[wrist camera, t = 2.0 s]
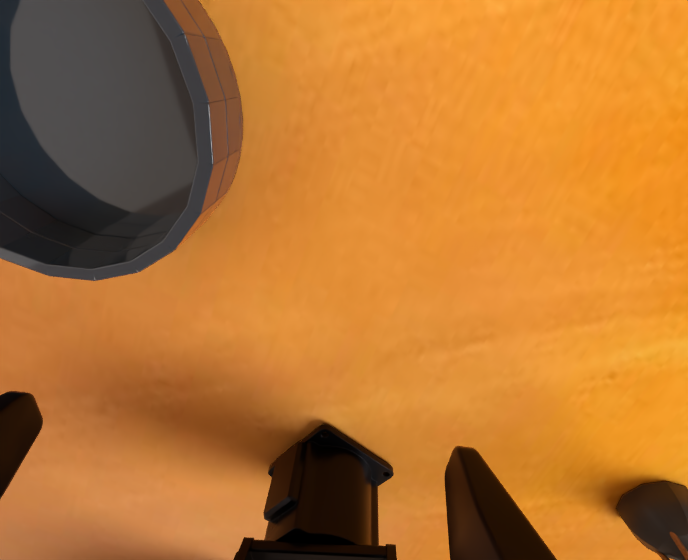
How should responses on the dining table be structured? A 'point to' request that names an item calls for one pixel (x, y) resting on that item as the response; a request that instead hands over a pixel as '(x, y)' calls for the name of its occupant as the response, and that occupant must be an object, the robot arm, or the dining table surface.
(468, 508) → the robot arm
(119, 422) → the dining table surface
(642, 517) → the wooden tabletop sculpture
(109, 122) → the saucepan
